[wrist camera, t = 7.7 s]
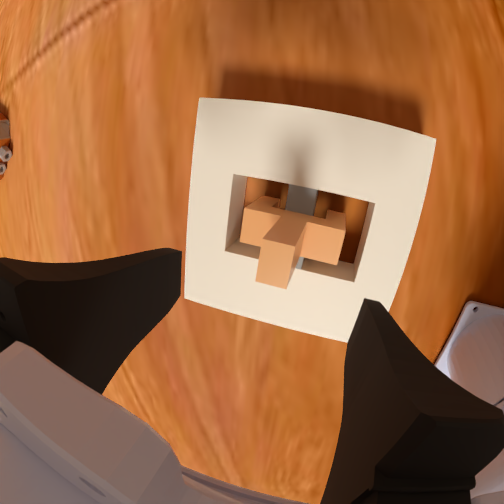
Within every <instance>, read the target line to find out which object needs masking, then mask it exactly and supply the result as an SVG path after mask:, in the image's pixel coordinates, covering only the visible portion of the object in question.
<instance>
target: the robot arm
mask: <svg viewBox="0 0 504 504" xmlns="http://www.w3.org/2000/svg"><path fill="white" fill-rule="evenodd" d="M181 261H182V251H179V250H175V249H171V248H161V249H155V250H149V251H144V252H140V253H135V254H130V255H125V256H120V257H115V258H109V259H104V260H97V261H89V262H78V263H41V262H29V261H22V260H16V259H10V258H5V257H4V258H0V504H309V503H303V502H298V501H293V500H288V499H284V498H279V497H275V496H271V495H267V494H263V493H260V492H256V491H252V490H249V489H245V488H242V487H239V486H236V485H233V484H229V483H226V482H224V481H221V480H218V479H215V478H212V477H209V476H207V475H204V474H201V473H199V472H196V471H194V470H191V469H189V468H186V467H184V466H182V465H180V462H179V460H178V458H177V456H176V455H175V453H174V451H173V449H172V448H171V446H170V444H169V443H168V442H167V441H166V440H165V439H164V438H162V437H161V436H160V435H159V434H158V433H157V432H156V431H155V430H154V429H153V428H152V427H151V426H150V425H149V424H147V423H146V422H144V421H143V420H141V419H140V418H138V417H137V416H135V415H134V414H132V413H131V412H129V411H128V410H126V409H125V408H123V407H122V406H120V405H118V404H117V403H115V402H113V401H111V400H110V399H108V398H106V397H104V396H103V395H102V393H103V392H104V390H105V388H106V387H107V385H108V383H109V382H110V380H111V379H112V377H113V376H114V374H115V373H116V371H117V370H118V368H119V367H120V366H121V364H122V363H123V362H124V360H125V359H126V358H127V356H128V355H129V354H130V352H131V351H132V350H133V349H134V348H135V347H136V345H137V344H138V343H139V342H140V341H141V340H142V339H143V338H144V337H145V336H146V335H147V334H148V333H149V332H150V331H151V330H152V329H153V328H154V327H155V326H156V325H157V324H158V323H159V322H160V321H161V320H162V319H163V318H164V317H165V316H166V314H167V313H168V312H169V311H170V310H171V308H172V307H173V305H174V304H175V303H176V301H177V300H178V298H179V297H180V294H181ZM475 307H477V308H476V309H475V310H473V309H474V308H475ZM320 504H504V308H500V307H495V306H491V305H487V304H483V303H479V302H475V301H468V302H467V303H466V304H465V306H464V308H463V310H462V313H461V315H460V317H459V319H458V321H457V323H456V325H455V327H454V329H453V331H452V333H451V335H450V337H449V339H448V341H447V343H446V344H445V346H444V348H443V350H442V352H441V354H440V355H439V357H438V359H437V361H436V362H435V364H434V365H433V364H432V363H431V362H430V361H429V360H428V359H427V358H426V357H425V356H424V355H423V354H422V353H421V352H420V351H419V350H418V349H417V347H416V346H415V345H414V344H413V343H412V342H411V341H410V339H409V338H408V337H407V336H406V335H405V333H404V332H403V331H402V330H401V328H400V327H399V326H398V324H397V323H396V322H395V320H394V319H393V318H392V316H391V315H390V314H389V312H388V311H387V310H386V308H385V307H384V306H383V305H382V304H381V303H380V302H379V301H375V300H371V299H366V298H364V300H363V303H362V306H361V308H360V311H359V314H358V317H357V319H356V322H355V325H354V327H353V330H352V333H351V335H350V338H349V340H348V344H347V351H346V357H345V365H344V396H343V414H342V423H341V428H340V433H339V438H338V443H337V447H336V452H335V456H334V460H333V464H332V468H331V471H330V475H329V478H328V481H327V485H326V488H325V491H324V494H323V497H322V500H321V503H320Z"/></svg>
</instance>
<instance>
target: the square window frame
mask: <svg viewBox="0 0 504 504" xmlns="http://www.w3.org/2000/svg"><path fill="white" fill-rule="evenodd" d="M435 144H436V139H435V138H432V137H429V136H425V135H422V134H419V133H416V132H412V131H409V130H406V129H402V128H399V127H395V126H391V125H387V124H384V123H380V122H376V121H372V120H367V119H363V118H359V117H354V116H349V115H345V114H340V113H335V112H329V111H324V110H318V109H312V108H306V107H299V106H292V105H285V104H277V103H269V102H259V101H248V100H236V99H220V98H199V104H198V112H197V120H196V129H195V138H194V148H193V158H192V169H191V180H190V193H189V207H188V222H187V240H186V262H185V296H184V298H185V299H188V300H191V301H195V302H198V303H201V304H204V305H208V306H211V307H214V308H217V309H221V310H224V311H228V312H231V313H234V314H238V315H241V316H245V317H248V318H252V319H255V320H259V321H263V322H266V323H270V324H274V325H278V326H281V327H285V328H289V329H293V330H297V331H301V332H305V333H309V334H313V335H317V336H321V337H325V338H329V339H334V340H338V341H342V342H347V343H348V340H349V338H350V335H351V333H352V330H353V327H354V325H355V322H356V319H357V317H358V314H359V311H360V308H361V306H362V303H363V300H364V298H366V299H371V300H375V301H379V302H380V303H381V304H382V305H383V306H384V307H385V308H386V310H387V311H388V312H389V309H390V307H391V304H392V301H393V299H394V296H395V294H396V291H397V288H398V285H399V282H400V280H401V277H402V274H403V271H404V268H405V265H406V262H407V259H408V256H409V253H410V249H411V246H412V243H413V239H414V236H415V232H416V229H417V225H418V222H419V218H420V214H421V210H422V206H423V202H424V198H425V194H426V190H427V185H428V181H429V176H430V171H431V166H432V161H433V156H434V150H435ZM247 176H249V177H254V178H260V179H266V180H271V181H277V182H282V183H287V184H289V189H288V196H287V202H286V208H285V210H288V211H293V212H297V213H302V214H306V215H311V216H314V211H315V206H316V200H317V195H318V190H321V191H326V192H330V193H335V194H339V195H344V196H348V197H352V198H356V199H360V200H365V201H369V205H368V209H367V213H366V218H365V222H364V226H363V230H362V234H361V238H360V242H359V245H358V249H357V253H356V257H355V260H354V264H352V263H348V262H344V261H339V260H338V263H337V265H333V264H329V263H325V262H321V261H317V260H313V259H309V258H304V257H299V260H298V262H297V265H296V267H295V270H294V272H293V275H292V277H291V279H290V282H289V284H288V287H287V289H283V288H279V287H275V286H271V285H267V284H263V283H260V282H256V281H255V280H256V274H257V267H258V261H259V255H260V249H261V247H259V246H255V245H251V244H246V243H242V242H240V232H241V224H242V216H243V208H244V200H245V192H246V184H247Z"/></svg>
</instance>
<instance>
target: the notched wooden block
mask: <svg viewBox="0 0 504 504" xmlns="http://www.w3.org/2000/svg"><path fill="white" fill-rule="evenodd" d="M279 205H280V199H278V198H273V197H268V196H262V197H260V198H259V199H257V200H256V201H254V202H253V203H251V204H250V205H248V206H247V207H245V208H244V213H243V221H242V229H241V236H240V242H242V243H246V244H251V245H255V246H259V247H261V249H260V255H259V261H258V267H257V274H256V280H255V281H256V282H260V283H263V284H267V285H271V286H275V287H279V288H283V289H287V287H288V284H289V282H290V279H291V277H292V275H293V272H294V270H295V267H296V265H297V262H298V260H299V257H304V258H309V259H313V260H317V261H321V262H325V263H329V264H333V265H337V263H338V259H339V256H340V252H341V248H342V244H343V240H344V236H345V232H346V218H345V213H341V212H336V211H332V210H327V214H326V219H324V218H319V217H315V216H311V215H306V214H302V213H297V212H293V211H288V210H284V209H279Z"/></svg>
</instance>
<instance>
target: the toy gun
mask: <svg viewBox="0 0 504 504" xmlns="http://www.w3.org/2000/svg"><path fill="white" fill-rule="evenodd" d="M10 139H11V137H10V136H9V120H8V119H7V118H6V117H5V116H4V115H3V114H2V113H1V112H0V180H1V179H2V178H3V177H4V172H5V170H6V166H5V165H6V161H9V160H10V158H11V156H12V153H11V150H10V149H9V144H10Z"/></svg>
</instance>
